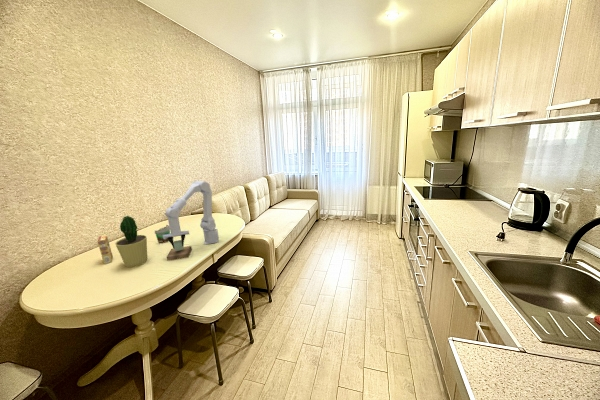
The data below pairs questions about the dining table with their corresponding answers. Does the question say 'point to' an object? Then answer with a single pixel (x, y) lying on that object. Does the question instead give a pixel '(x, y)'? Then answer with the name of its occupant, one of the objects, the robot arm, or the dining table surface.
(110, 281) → the dining table surface
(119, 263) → the dining table surface
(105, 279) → the dining table surface
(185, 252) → the walnut box
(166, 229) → the food container
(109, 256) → the candy box
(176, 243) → the sage block
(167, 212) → the robot arm
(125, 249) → the potted cactus
